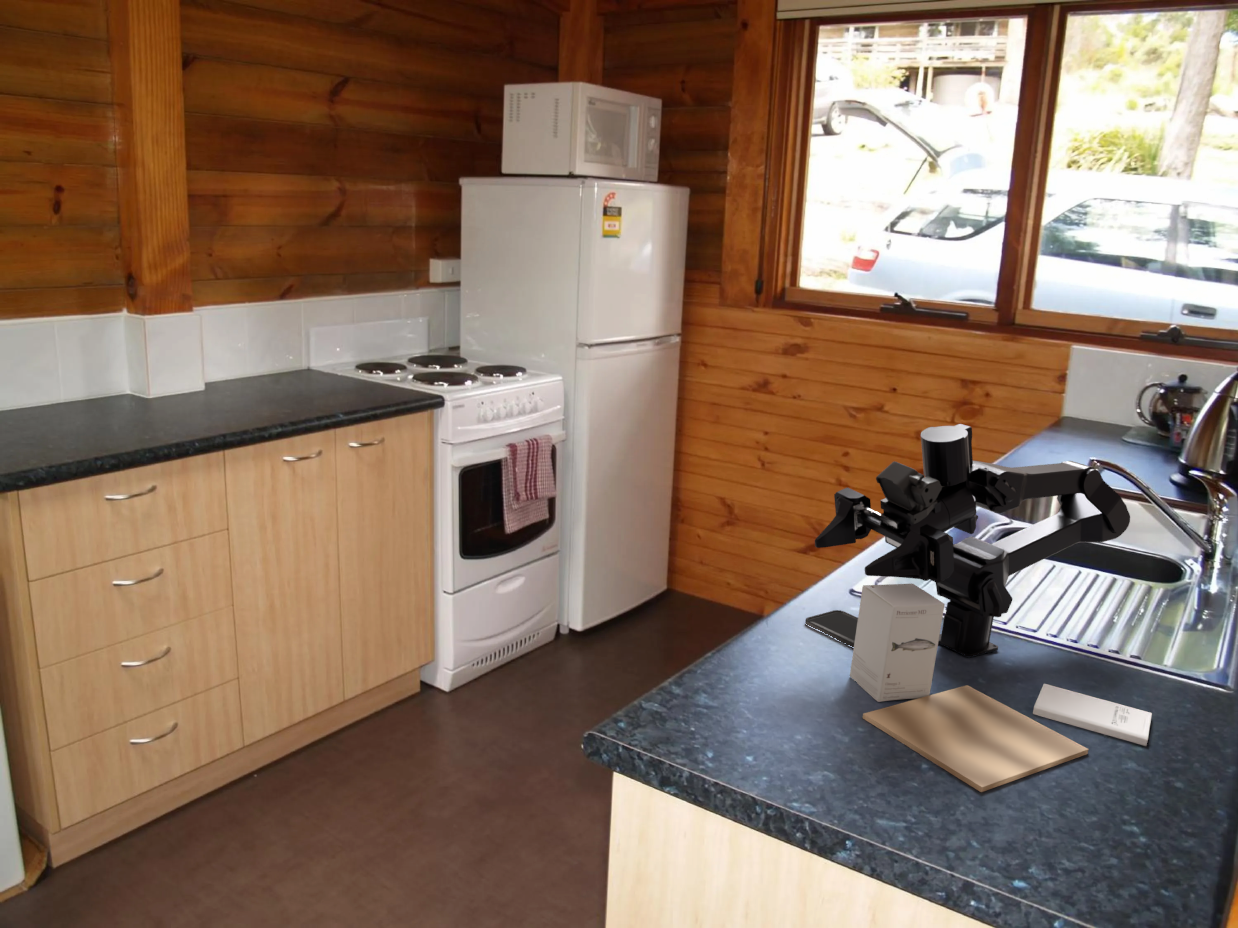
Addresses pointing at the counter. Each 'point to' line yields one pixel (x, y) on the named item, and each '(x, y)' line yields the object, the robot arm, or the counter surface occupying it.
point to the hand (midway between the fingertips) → (839, 557)
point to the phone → (836, 625)
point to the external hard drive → (1093, 714)
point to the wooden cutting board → (975, 737)
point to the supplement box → (896, 641)
